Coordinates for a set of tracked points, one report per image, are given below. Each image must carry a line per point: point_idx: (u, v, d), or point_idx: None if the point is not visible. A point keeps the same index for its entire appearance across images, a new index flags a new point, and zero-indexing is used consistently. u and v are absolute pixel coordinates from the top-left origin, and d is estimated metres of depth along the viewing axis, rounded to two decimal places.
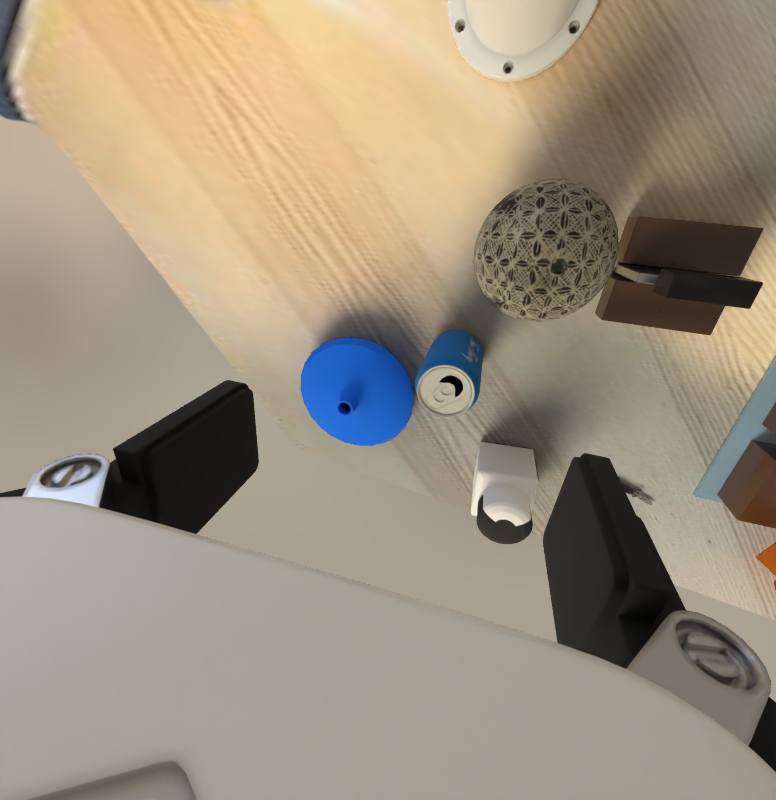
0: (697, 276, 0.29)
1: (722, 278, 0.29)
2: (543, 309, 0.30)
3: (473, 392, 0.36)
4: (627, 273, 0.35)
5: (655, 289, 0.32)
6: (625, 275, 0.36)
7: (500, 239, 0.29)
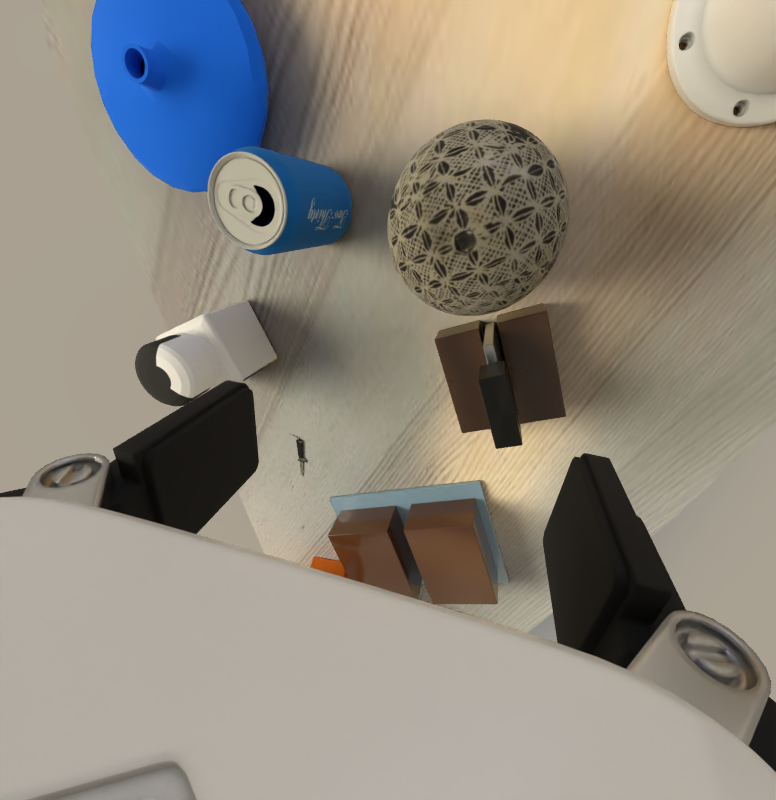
0: (508, 393, 0.27)
1: (514, 413, 0.28)
2: (409, 261, 0.22)
3: (270, 242, 0.25)
4: (489, 334, 0.32)
5: (482, 367, 0.29)
6: (485, 334, 0.32)
7: (471, 142, 0.19)
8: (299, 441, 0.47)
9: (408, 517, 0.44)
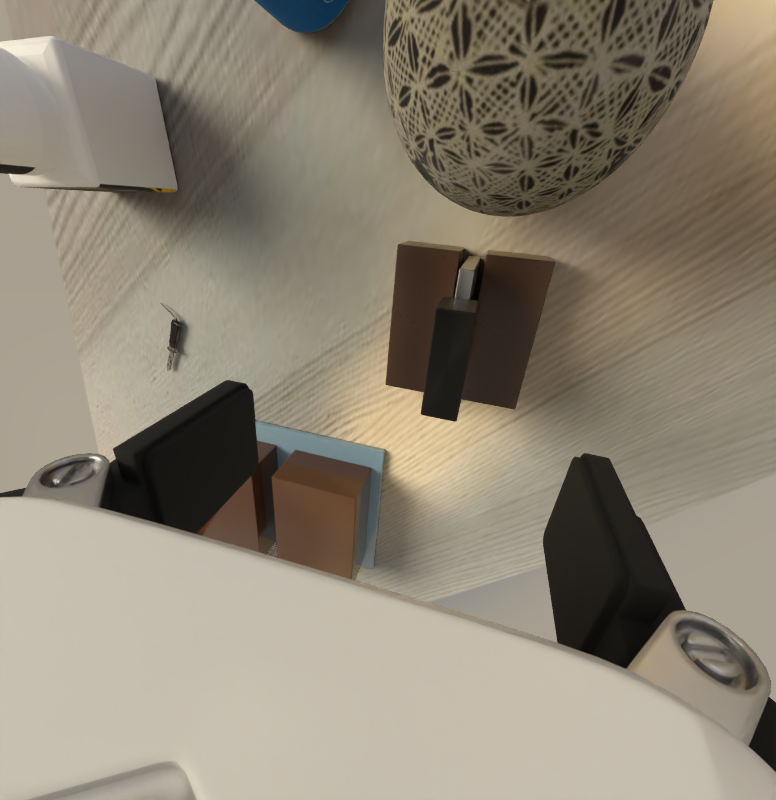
0: (469, 343, 0.18)
1: (464, 375, 0.19)
2: (410, 9, 0.11)
3: None
4: (471, 263, 0.22)
5: (447, 298, 0.20)
6: (467, 261, 0.23)
7: None
8: (175, 323, 0.34)
9: (284, 463, 0.35)
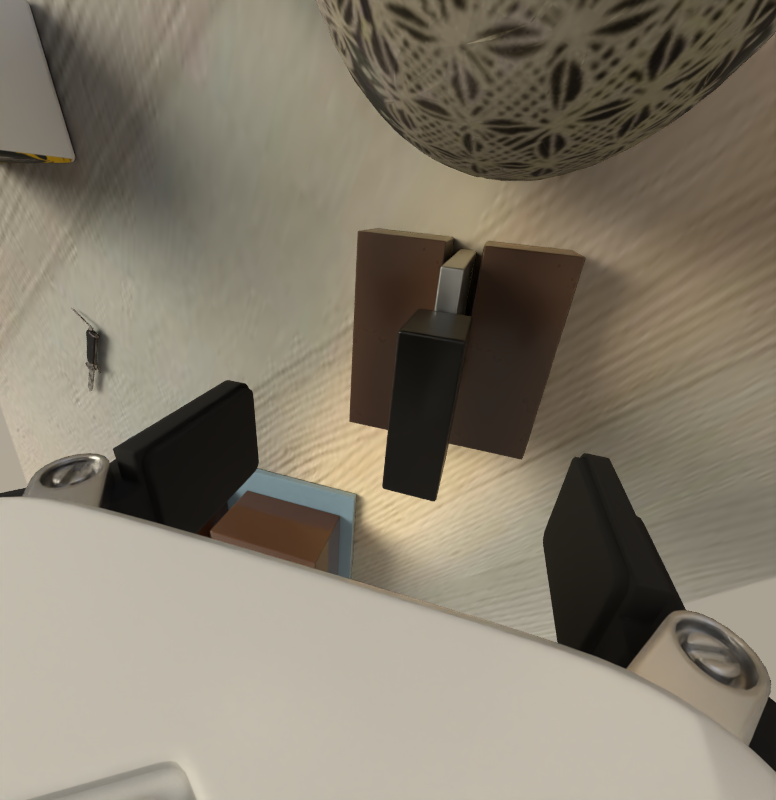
0: (453, 389, 0.11)
1: (446, 437, 0.12)
2: None
3: None
4: (461, 258, 0.15)
5: (422, 311, 0.13)
6: (455, 256, 0.16)
7: None
8: (90, 334, 0.27)
9: (230, 511, 0.28)
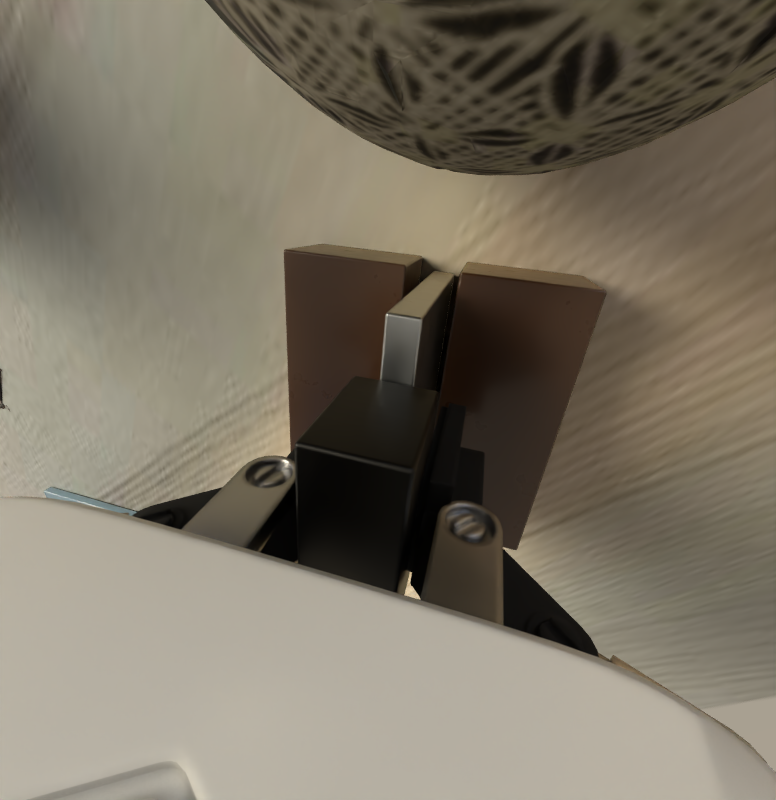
0: (397, 542, 0.06)
1: None
2: None
3: None
4: (427, 291, 0.10)
5: (358, 383, 0.08)
6: (420, 287, 0.11)
7: None
8: None
9: None
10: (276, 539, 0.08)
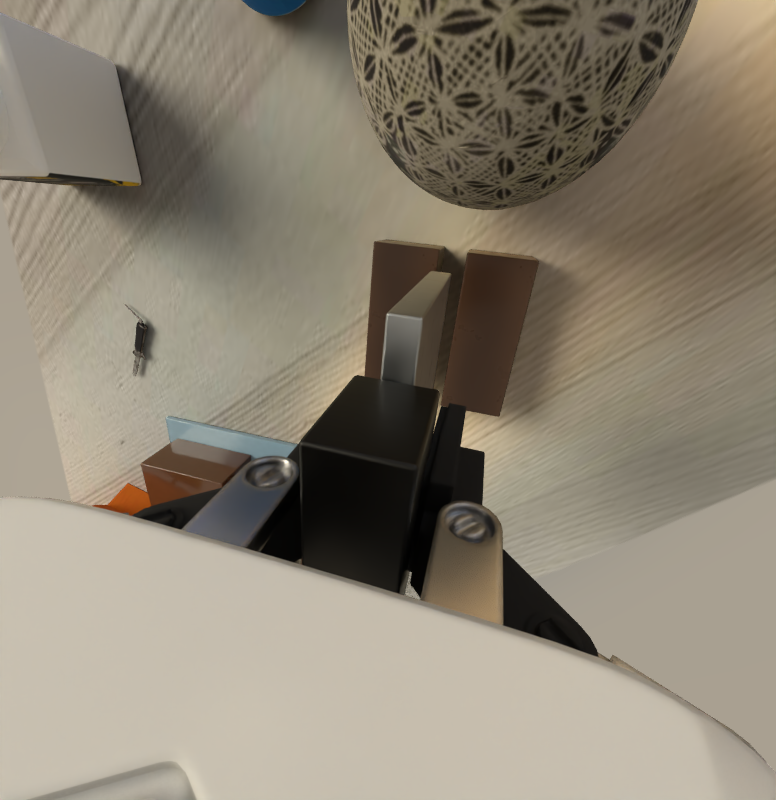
0: (401, 538, 0.06)
1: None
2: None
3: None
4: (426, 290, 0.10)
5: (360, 383, 0.08)
6: (418, 287, 0.11)
7: None
8: (140, 326, 0.32)
9: None
10: (276, 539, 0.08)
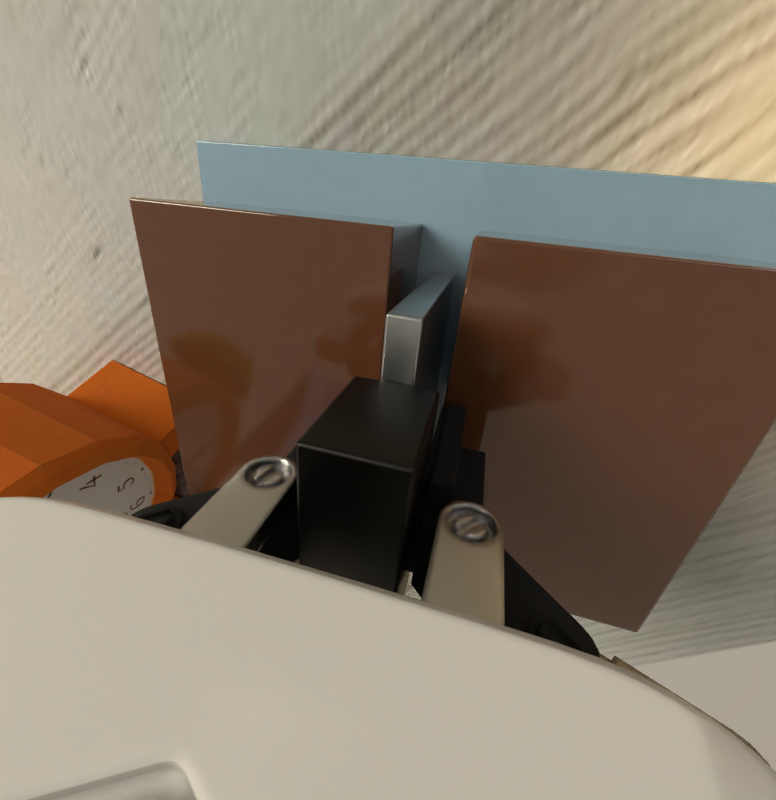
0: (397, 541, 0.06)
1: None
2: None
3: None
4: (428, 291, 0.10)
5: (359, 384, 0.08)
6: (420, 287, 0.11)
7: None
8: None
9: (485, 233, 0.11)
10: (275, 539, 0.08)
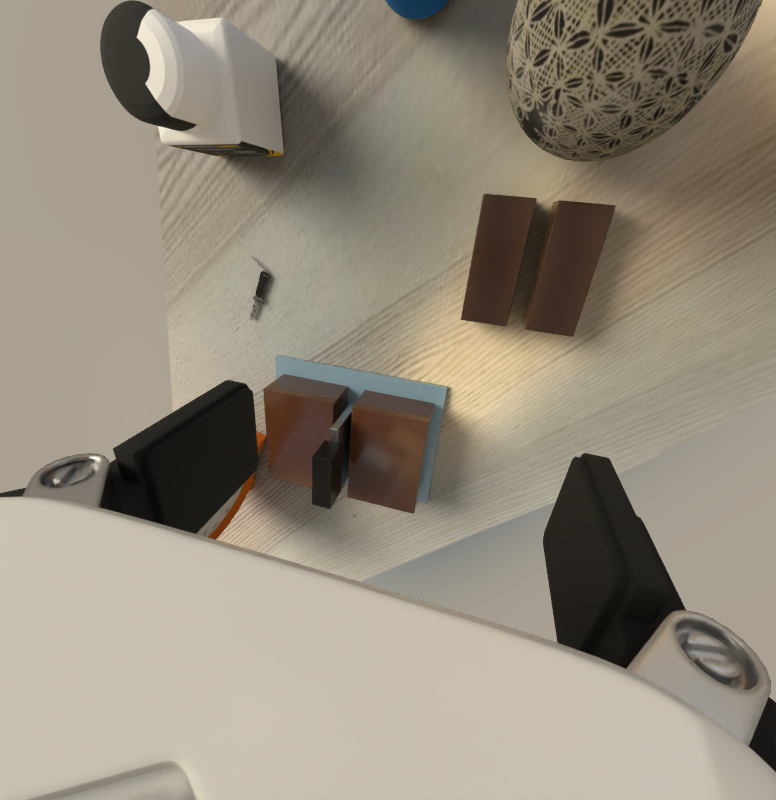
0: (330, 473, 0.35)
1: (330, 487, 0.36)
2: None
3: None
4: (344, 415, 0.39)
5: (325, 442, 0.37)
6: (343, 413, 0.40)
7: None
8: (264, 274, 0.39)
9: (360, 399, 0.40)
10: None
